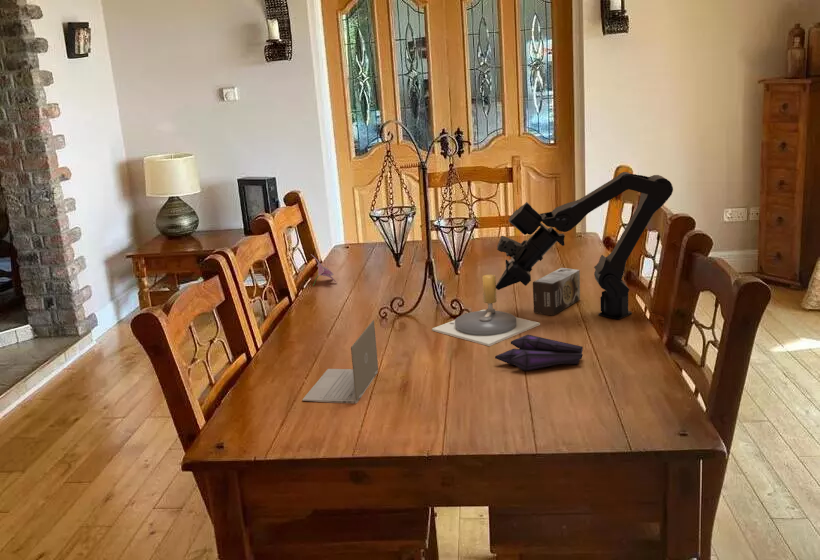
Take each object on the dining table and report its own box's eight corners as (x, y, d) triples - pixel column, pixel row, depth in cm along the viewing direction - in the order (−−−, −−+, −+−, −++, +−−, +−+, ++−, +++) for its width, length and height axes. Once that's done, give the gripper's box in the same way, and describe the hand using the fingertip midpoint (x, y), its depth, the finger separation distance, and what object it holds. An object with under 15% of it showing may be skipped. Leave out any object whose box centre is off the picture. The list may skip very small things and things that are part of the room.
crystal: (583, 330, 192) (496, 325, 194) (586, 352, 181) (495, 347, 183) (580, 357, 194) (495, 352, 196) (584, 381, 184) (494, 376, 186)
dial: (509, 336, 207) (507, 292, 204) (448, 333, 212) (445, 290, 209) (521, 316, 221) (520, 274, 218) (463, 314, 226) (461, 273, 223)
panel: (539, 324, 216) (539, 321, 216) (489, 346, 203) (488, 342, 203) (482, 311, 230) (482, 308, 230) (432, 330, 218) (431, 327, 217)
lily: (332, 293, 263) (343, 264, 264) (298, 280, 263) (308, 252, 264) (335, 294, 275) (345, 267, 276) (302, 282, 275) (312, 255, 276)
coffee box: (581, 300, 234) (553, 316, 222) (560, 297, 238) (532, 313, 226) (580, 269, 232) (553, 284, 220) (559, 266, 236) (531, 281, 224)
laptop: (327, 371, 195) (322, 319, 191) (379, 372, 192) (374, 319, 189) (302, 403, 178) (295, 346, 175) (357, 404, 175) (352, 346, 172)
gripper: (512, 218, 224) (474, 259, 228) (515, 234, 206) (473, 279, 210) (543, 245, 225) (504, 285, 229) (548, 263, 208) (506, 306, 212)
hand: (496, 288), depth 220 cm, fingers closed, pressing on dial
